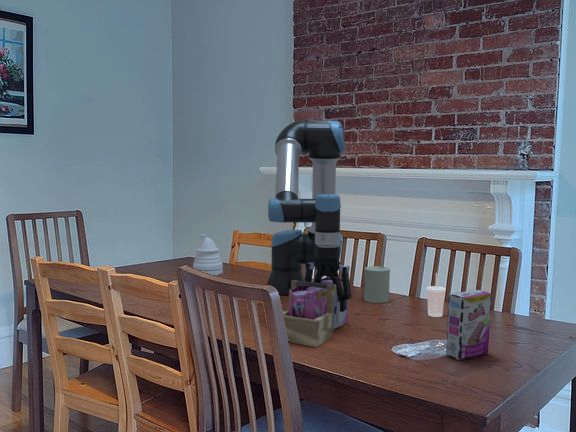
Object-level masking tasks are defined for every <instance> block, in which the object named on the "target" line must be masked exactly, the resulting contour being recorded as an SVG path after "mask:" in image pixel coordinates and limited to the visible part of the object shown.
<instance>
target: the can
mask: <svg viewBox="0 0 576 432" xmlns="http://www.w3.org/2000/svg"><path fill="white" fill-rule="evenodd" d="M363 270H364V286H363V287H364V289H363V290H364V291H363V292H364V293H363V300H364V302H367V303H371V304H385V303H388V302H390V277H391V276H390V275H391V274H390V272H391V269H390V267H386V266H378V265H377V266H375V265H372V266H371V265H370V266H366V267H364V269H363Z"/></svg>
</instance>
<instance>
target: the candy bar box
mask: <svg viewBox="0 0 576 432" xmlns="http://www.w3.org/2000/svg"><path fill="white" fill-rule="evenodd" d="M491 306H492V293H490V292H488V291H483V290H479V289H474V290H469V291H461V292H454V293H449V294H448V307H447V308H448V309H447V311H448V312H447V328H446V329H447V331H446V350H445V356H446V357H449V358H451V359H454V360H456V361H462V360H463V361H464V360H467V359H471V358H475V357H479V356H483V355H487V354H488V353H489V343H490V342H489V341H490V326H491V325H490V321H491Z"/></svg>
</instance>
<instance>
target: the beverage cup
mask: <svg viewBox="0 0 576 432" xmlns="http://www.w3.org/2000/svg"><path fill="white" fill-rule="evenodd" d="M445 293H446V288H445V287H443V286H438V272H435V285H434V286H433V285H431V286H427V287H426V294H427V314H428V315H427V316H429V317H432V318H441V317H443V313H444V302H445Z"/></svg>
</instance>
